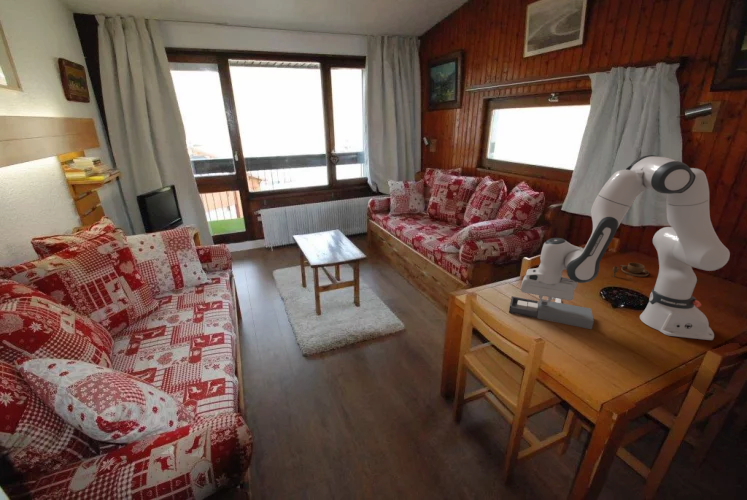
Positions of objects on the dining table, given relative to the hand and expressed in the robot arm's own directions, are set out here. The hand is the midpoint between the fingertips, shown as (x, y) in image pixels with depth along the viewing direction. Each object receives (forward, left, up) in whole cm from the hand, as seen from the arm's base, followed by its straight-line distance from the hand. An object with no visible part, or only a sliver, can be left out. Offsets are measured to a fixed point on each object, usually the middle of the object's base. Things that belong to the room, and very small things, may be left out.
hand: (544, 304), depth 143 cm
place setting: (-40, -61, -5) cm, 74 cm away
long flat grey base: (-8, 0, -5) cm, 9 cm away
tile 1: (+9, 0, -1) cm, 9 cm away
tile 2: (+4, 0, -4) cm, 6 cm away
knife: (-4, -20, -5) cm, 22 cm away
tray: (+8, 0, -5) cm, 9 cm away
